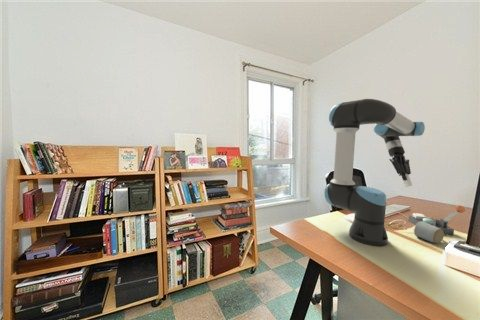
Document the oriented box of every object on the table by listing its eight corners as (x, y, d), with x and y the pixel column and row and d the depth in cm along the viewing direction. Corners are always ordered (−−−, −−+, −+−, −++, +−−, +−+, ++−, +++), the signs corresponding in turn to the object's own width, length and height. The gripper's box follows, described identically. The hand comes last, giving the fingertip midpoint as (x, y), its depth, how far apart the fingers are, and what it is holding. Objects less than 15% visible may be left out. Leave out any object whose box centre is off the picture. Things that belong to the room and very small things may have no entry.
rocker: (415, 218, 110) (416, 216, 109) (412, 215, 112) (413, 213, 112) (425, 219, 108) (425, 216, 108) (421, 216, 111) (422, 213, 111)
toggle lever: (435, 221, 102) (456, 204, 93) (439, 220, 102) (461, 203, 94) (441, 227, 99) (464, 210, 91) (446, 226, 100) (469, 209, 92)
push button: (425, 224, 101) (426, 220, 101) (420, 221, 105) (421, 217, 105) (435, 225, 100) (435, 221, 100) (429, 222, 104) (430, 218, 104)
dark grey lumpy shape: (426, 232, 99) (427, 220, 99) (408, 220, 115) (409, 210, 114) (453, 235, 97) (454, 223, 96) (431, 222, 112) (432, 212, 111)
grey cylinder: (434, 245, 86) (436, 228, 85) (412, 237, 94) (414, 221, 93) (448, 242, 90) (450, 226, 89) (426, 234, 97) (428, 219, 97)
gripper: (393, 144, 116) (407, 183, 106) (409, 147, 119) (424, 184, 109) (381, 150, 122) (393, 186, 113) (397, 152, 125) (410, 188, 116)
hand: (408, 185), depth 111 cm, fingers closed
